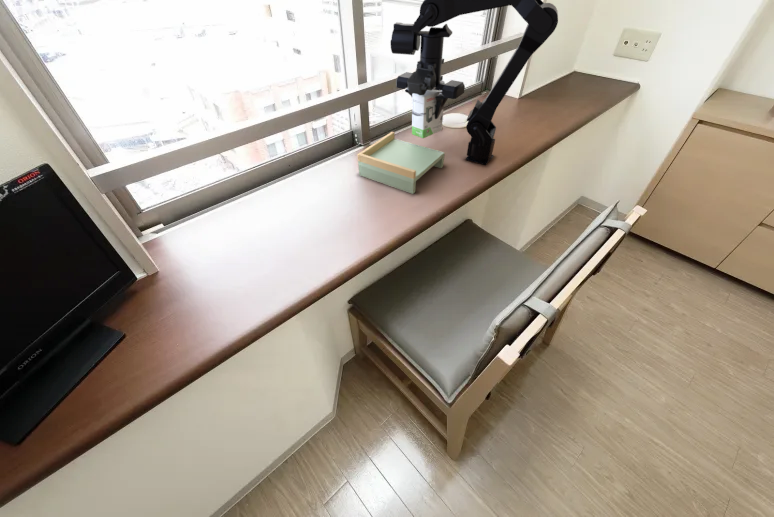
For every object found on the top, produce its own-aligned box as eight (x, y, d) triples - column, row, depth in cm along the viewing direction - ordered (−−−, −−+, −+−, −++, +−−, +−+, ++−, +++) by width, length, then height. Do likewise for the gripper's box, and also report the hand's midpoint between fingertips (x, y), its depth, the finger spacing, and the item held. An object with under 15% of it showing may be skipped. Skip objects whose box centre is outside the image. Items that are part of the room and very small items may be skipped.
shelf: (443, 166, 99) (445, 145, 95) (413, 194, 89) (413, 172, 85) (392, 151, 107) (391, 131, 102) (359, 175, 97) (357, 154, 92)
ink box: (422, 139, 99) (424, 96, 91) (411, 134, 101) (411, 92, 93) (442, 130, 103) (445, 88, 94) (430, 125, 105) (432, 85, 97)
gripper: (384, 58, 87) (385, 119, 98) (449, 69, 79) (443, 134, 90) (407, 48, 94) (406, 106, 104) (469, 57, 86) (461, 119, 97)
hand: (427, 116), depth 99 cm, fingers closed on ink box, 5 cm apart
